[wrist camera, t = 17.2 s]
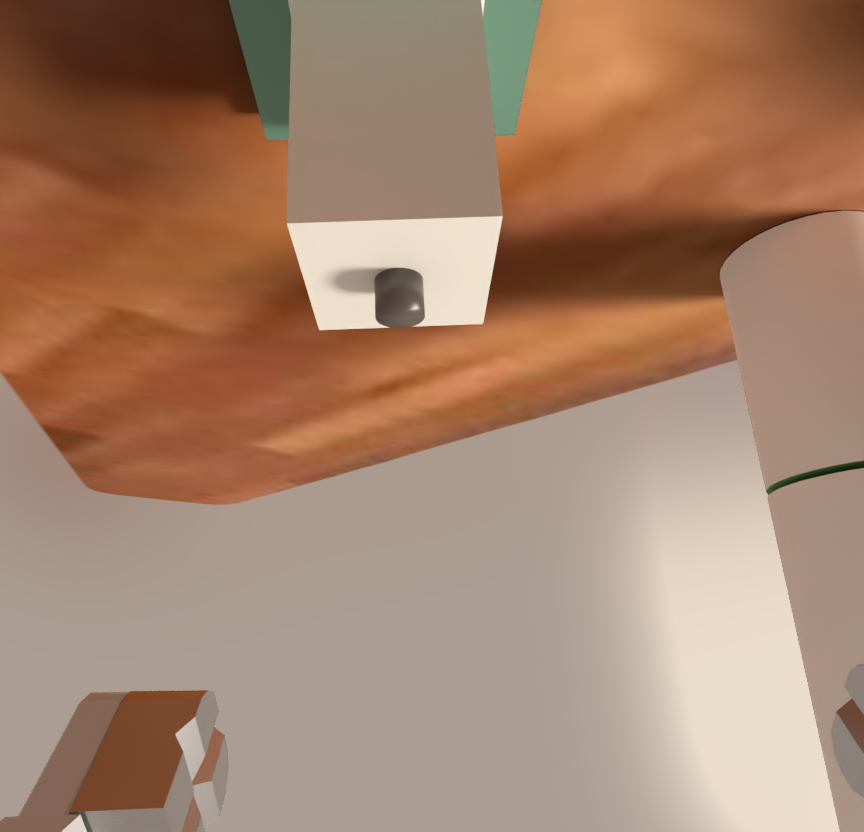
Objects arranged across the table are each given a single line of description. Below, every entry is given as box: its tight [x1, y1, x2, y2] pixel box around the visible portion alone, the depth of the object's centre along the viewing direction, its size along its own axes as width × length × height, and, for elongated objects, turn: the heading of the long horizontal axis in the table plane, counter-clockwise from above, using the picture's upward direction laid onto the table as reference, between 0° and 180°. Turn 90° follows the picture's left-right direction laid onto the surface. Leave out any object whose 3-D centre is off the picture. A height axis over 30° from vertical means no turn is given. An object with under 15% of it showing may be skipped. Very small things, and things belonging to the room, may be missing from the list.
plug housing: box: [287, 0, 503, 330], centre depth 18 cm, size 5×5×8 cm
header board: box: [229, 0, 542, 140], centre depth 17 cm, size 10×8×3 cm
